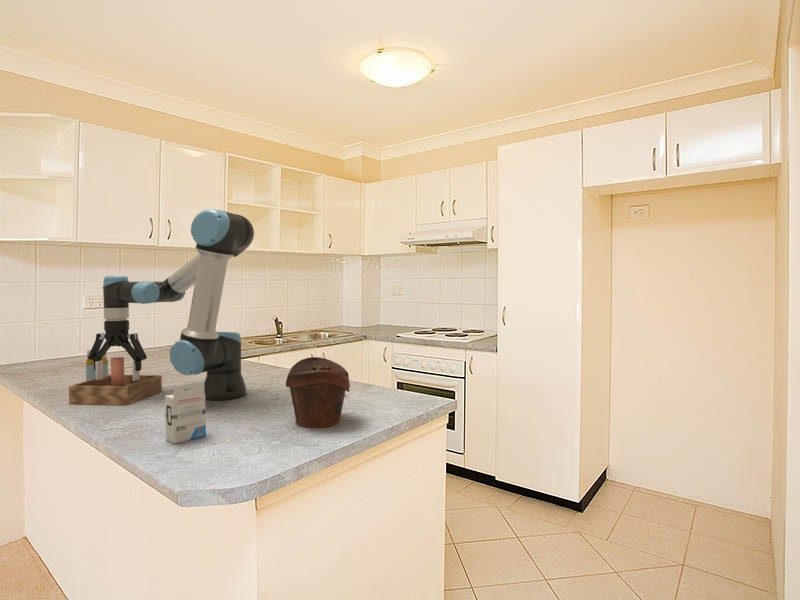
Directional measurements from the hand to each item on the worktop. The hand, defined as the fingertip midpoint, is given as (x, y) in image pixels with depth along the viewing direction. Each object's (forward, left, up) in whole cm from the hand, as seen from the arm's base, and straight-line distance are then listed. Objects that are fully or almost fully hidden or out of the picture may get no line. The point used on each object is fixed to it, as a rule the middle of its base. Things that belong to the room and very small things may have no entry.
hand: (117, 379), depth 162 cm
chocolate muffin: (-78, +22, -6) cm, 81 cm away
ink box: (-47, +39, -7) cm, 61 cm away
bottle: (+17, -12, -6) cm, 22 cm away
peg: (0, 0, -6) cm, 6 cm away
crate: (0, 0, -6) cm, 6 cm away
